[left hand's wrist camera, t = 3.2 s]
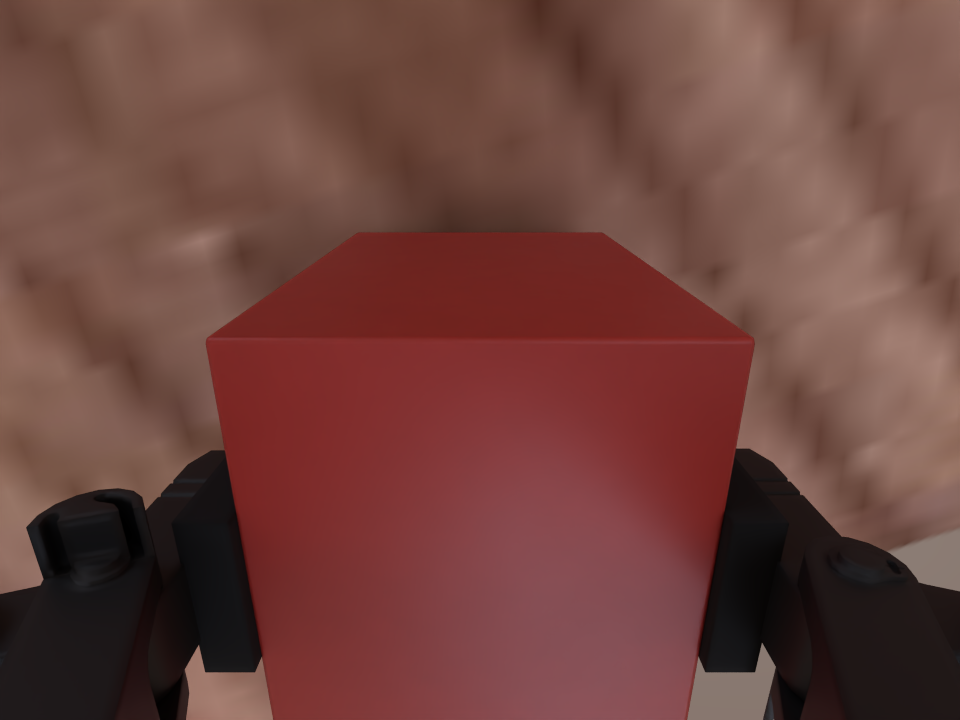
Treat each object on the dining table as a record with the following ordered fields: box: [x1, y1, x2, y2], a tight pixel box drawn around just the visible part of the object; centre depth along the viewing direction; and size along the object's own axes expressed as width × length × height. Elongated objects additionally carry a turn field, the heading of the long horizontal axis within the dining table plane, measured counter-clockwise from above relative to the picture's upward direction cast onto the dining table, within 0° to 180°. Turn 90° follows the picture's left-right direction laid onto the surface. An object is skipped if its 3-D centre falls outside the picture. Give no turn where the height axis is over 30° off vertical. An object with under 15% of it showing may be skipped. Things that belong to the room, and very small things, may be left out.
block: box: [206, 233, 755, 720], centre depth 13 cm, size 7×8×9 cm
